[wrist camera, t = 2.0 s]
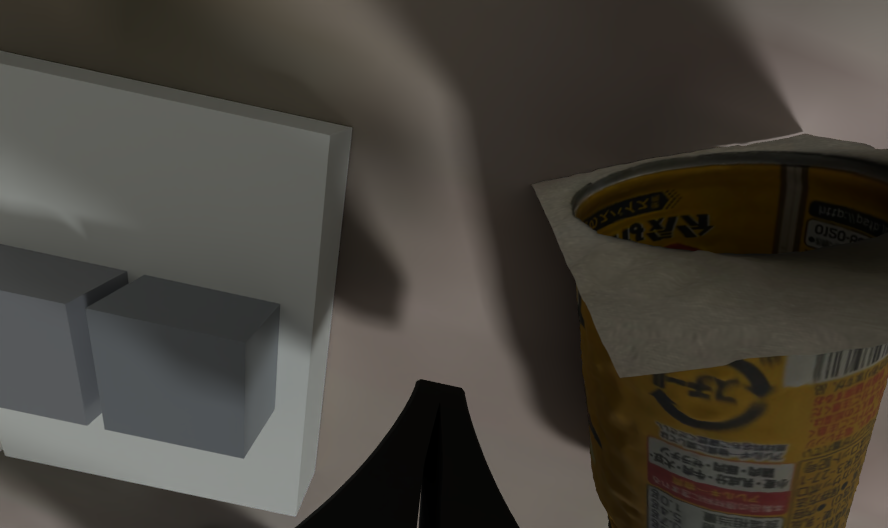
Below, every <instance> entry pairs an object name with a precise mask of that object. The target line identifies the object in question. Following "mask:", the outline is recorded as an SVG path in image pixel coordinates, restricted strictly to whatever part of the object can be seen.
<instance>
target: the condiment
mask: <svg viewBox="0 0 888 528" xmlns="http://www.w3.org/2000/svg"><path fill="white" fill-rule="evenodd" d="M531 185H532V186H533V188H534V190H535V192H536V195H537V197H538V198H539V201H540V203H541V205H542V207H543V209H544V212H545V214H546V216H547V218H548V220H549V222H550V224H551V227H552V229H553V232H554V234H555V236H556V239H557V242H558V244H559V247H560V249H561V251H562V253H563V255H564V258H565V261H566V264H567V266H568V268H569V269H570V271H571V273H572V275H573V276H574V279H575V281H576V291H577V302H578V314H579V318H580V320H579V321H580V332H581V347H580V348H581V351H582V354H581V358H582V362H583V364H582V373H583V377H584V381H585V384H584V386H585V394H586V404H587V412H588V421H589V434H590V454H591V467H592V472H593V479H594V482H595V487H596V491H597V493H598V496H599V499H600V501H601V502H602V504H603V506H604V508H605V509H606V511H607V513H608V519H609V523H608V526H609V528H845V526H846V522H847V518H848V515H849V512H850V507H851V504H852V501H853V497H854V493H855V491H856V488H857V485H858V484H859V476H860V473H861V469H862V466H863V463H864V459H865V456H866V451H867V447H868V444H869V441H870V438H871V434H872V430H873V427H874V423H875V421H876V417H877V414H878V410H879V406H880V402H881V399H882V396H883V392H884V390H885V387H886V384H887V378H888V149H875V148H874V147H872V146H870V145H867V144H864V143H857V142H850V141H842V140H837V139H831V138H825V137H818V136H813V135H809V134H802V135H797V136H793V137H789V138H784V139H779V140H773V141H768V142H761V143H754V144H751V145H747V146H740V145H735V146H731V147H716V148H711V149H705V150H699V151H695V152H691V153H681V154H677V155H672V156H665V157H657V158H651V159H646V160H641V161H636V162H633V163H629V164H621V165H615V166H611V167H607V168H601V169H597V170H595V171H593V172H589V173H579V174H575V175H573V176H571V177H564V178H560V179H553V180H551V181H543V182H539V183H535V184H531Z"/></svg>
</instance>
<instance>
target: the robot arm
mask: <svg viewBox="0 0 888 528" xmlns="http://www.w3.org/2000/svg"><path fill="white" fill-rule="evenodd" d="M421 485H422V486H421ZM420 494H421V501H420ZM419 502H420V516H419V528H519V526H518V524H517V522H516V521H515V519H514V517H513V515H512V514H511V512H510V510H509V508H508V506H507V504H506V503H505V501H504V499H503V497H502V495H501V493H500V491H499V489H498V487H497V485H496V483H495V481H494V478H493V476H492V474H491V472H490V469H489V467H488V465H487V462H486V460H485V457H484V455H483V452H482V450H481V447H480V444H479V442H478V439H477V436H476V433H475V430H474V427H473V424H472V421H471V418H470V414H469V410H468V407H467V402H466V398H465V392H464V391H463V389H462V388H459V387H455V386H450V385H445V384H441V383H436V382H431V381H427V380H422V379H420V380H418V381H416V384H415V387H414V390H413V392H412V395H411V397H410V399H409V400H408V402H407V404H406V406H405V408H404V409H403V411H402V412H401V414H400V416H399V417H398V419H397V420H396V422H395V423H394V425H393V426H392V428H391V429H390V431H389V432H388V433H387V435H386V436H385V437H384V438H383V440H382V441H381V442H380V444H379V445H378V446H377V448H376V449H375V450H374V451H373V453H372V454H371V455H370V456H369V457H368V459H367V460H366V461H365V462H364V463H363V464H362V465H361V467H360V468H359V469H358V470H357V471H356V472H355V473H354V474H353V475H352V476H351V477H350V478H349V479H348V480H347V481H346V482H345V483H344V484H343V485H342V486H341V487H340V488H339V489H338V490H337V491H336V492H335V493H334V494H333V495H332V496H331V497H330V498H329V499H328V500H327V501H326V502H325V503H324V504H322V505H321V506H320V507H319V508H318V509H316V510H315V511H314V512H313V513H312V514H311V515H309V516H308V517H307V518H306V519H305V520H304V521H302V522H301V523H300V524H299V525H298V526H296V527H295V528H417V520H418V511H419Z"/></svg>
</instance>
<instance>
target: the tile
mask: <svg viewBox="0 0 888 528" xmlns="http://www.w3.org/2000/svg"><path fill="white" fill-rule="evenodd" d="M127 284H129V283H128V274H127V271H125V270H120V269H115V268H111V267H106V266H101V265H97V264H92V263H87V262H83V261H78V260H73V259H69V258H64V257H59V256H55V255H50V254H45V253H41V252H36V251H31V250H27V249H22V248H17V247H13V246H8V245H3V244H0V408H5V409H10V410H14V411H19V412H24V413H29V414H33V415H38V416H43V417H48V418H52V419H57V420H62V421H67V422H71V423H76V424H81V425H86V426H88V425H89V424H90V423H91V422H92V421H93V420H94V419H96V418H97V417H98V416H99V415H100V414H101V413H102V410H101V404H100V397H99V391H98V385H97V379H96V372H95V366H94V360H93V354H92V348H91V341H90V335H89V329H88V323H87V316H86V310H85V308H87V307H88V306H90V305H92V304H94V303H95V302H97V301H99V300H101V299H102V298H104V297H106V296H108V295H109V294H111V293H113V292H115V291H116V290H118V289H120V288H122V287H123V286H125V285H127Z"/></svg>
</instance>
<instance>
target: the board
mask: <svg viewBox="0 0 888 528" xmlns="http://www.w3.org/2000/svg"><path fill="white" fill-rule="evenodd" d="M351 138H352V127H348V126H343V125H338V124H334V123H329V122H325V121H320V120H316V119H311V118H306V117H302V116H297V115H293V114H288V113H283V112H279V111H274V110H270V109H265V108H261V107H256V106H251V105H247V104H242V103H238V102H233V101H229V100H224V99H219V98H215V97H210V96H206V95H201V94H197V93H192V92H187V91H183V90H178V89H174V88H169V87H165V86H160V85H155V84H151V83H146V82H142V81H137V80H133V79H128V78H123V77H119V76H114V75H110V74H105V73H100V72H96V71H91V70H87V69H82V68H78V67H73V66H68V65H64V64H59V63H55V62H50V61H46V60H41V59H36V58H32V57H27V56H23V55H18V54H14V53H9V52H4V51H0V244H3V245H8V246H13V247H17V248H22V249H27V250H31V251H36V252H41V253H45V254H50V255H55V256H59V257H64V258H69V259H73V260H78V261H83V262H87V263H92V264H97V265H101V266H106V267H111V268H115V269H120V270H125V271H127V274H128V283H130V282H132V281H134V280H136V279H138V278H139V277H141V276H143V275H148V276H153V277H157V278H162V279H167V280H171V281H176V282H181V283H185V284H190V285H195V286H199V287H204V288H209V289H213V290H218V291H223V292H227V293H232V294H237V295H241V296H246V297H251V298H255V299H260V300H265V301H269V302H274V303H279V304H280V321H279V341H278V360H277V379H276V398H275V410H274V411H273V413H272V415H271V416H270V418H269V419H268V421H267V423H266V424H265V426H264V427H263V429H262V431H261V432H260V434H259V435H258V437H257V439H256V440H255V442H254V443H253V445H252V447H251V448H250V450H249V451H248V453H247V455H246V456H245V458H244V459H242V458H237V457H233V456H228V455H223V454H218V453H214V452H209V451H204V450H199V449H195V448H190V447H185V446H180V445H176V444H171V443H166V442H161V441H157V440H152V439H147V438H142V437H138V436H133V435H128V434H123V433H119V432H114V431H109V430H105V429H104V422H103V416H102V413H101V414H100V415H99V416H98V417H97V418H96V419H94V420H93V421H92V422H91V423H90V424H89V425H88V426H86V425H81V424H76V423H71V422H67V421H62V420H57V419H52V418H48V417H43V416H38V415H33V414H29V413H24V412H19V411H14V410H10V409H5V408H0V441H1V444H2V447H3V451H4V454H5V456H8V457H13V458H18V459H23V460H28V461H32V462H37V463H42V464H47V465H51V466H56V467H61V468H66V469H70V470H75V471H80V472H85V473H90V474H94V475H99V476H104V477H109V478H113V479H118V480H123V481H128V482H132V483H137V484H142V485H147V486H152V487H156V488H161V489H166V490H171V491H175V492H180V493H185V494H190V495H195V496H199V497H204V498H209V499H214V500H218V501H223V502H228V503H233V504H237V505H242V506H247V507H252V508H257V509H261V510H266V511H271V512H276V513H280V514H285V515H290V516H295V517H296V515H297V513H298V511H299V508H300V506H301V503H302V501H303V499H304V496H305V494H306V492H307V489H308V487H309V485H310V482H311V480H312V477H313V475H314V473H315V466H316V457H317V448H318V439H319V430H320V420H321V411H322V402H323V393H324V384H325V375H326V366H327V357H328V347H329V338H330V329H331V320H332V311H333V302H334V293H335V284H336V274H337V265H338V256H339V247H340V238H341V229H342V220H343V211H344V201H345V192H346V183H347V174H348V165H349V156H350V147H351Z"/></svg>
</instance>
